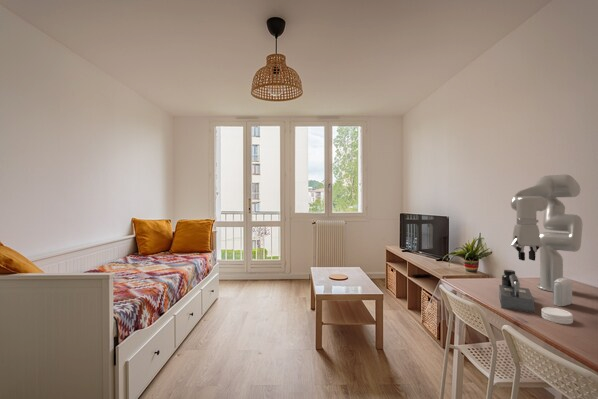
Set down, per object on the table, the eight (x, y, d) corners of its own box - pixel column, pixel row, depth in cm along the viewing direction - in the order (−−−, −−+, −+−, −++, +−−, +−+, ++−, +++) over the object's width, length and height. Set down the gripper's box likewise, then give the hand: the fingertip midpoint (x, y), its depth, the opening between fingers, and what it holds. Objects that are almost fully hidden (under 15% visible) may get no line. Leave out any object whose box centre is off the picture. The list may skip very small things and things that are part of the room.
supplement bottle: (520, 295, 149) (520, 272, 149) (505, 294, 150) (505, 272, 150) (513, 291, 156) (513, 269, 156) (499, 290, 157) (499, 268, 157)
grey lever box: (499, 296, 148) (498, 272, 148) (528, 300, 142) (528, 275, 142) (501, 307, 133) (500, 281, 133) (534, 313, 126) (533, 285, 126)
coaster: (541, 312, 127) (540, 305, 127) (571, 318, 121) (571, 310, 121) (541, 320, 119) (541, 312, 119) (574, 327, 113) (574, 318, 113)
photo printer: (562, 300, 140) (562, 276, 140) (573, 303, 136) (573, 278, 136) (551, 304, 136) (551, 278, 136) (562, 307, 132) (562, 281, 132)
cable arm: (509, 279, 146) (509, 273, 146) (517, 279, 144) (516, 274, 144) (512, 286, 134) (512, 280, 134) (520, 287, 133) (520, 281, 133)
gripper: (538, 221, 141) (538, 258, 141) (503, 221, 142) (503, 258, 142) (550, 222, 134) (551, 261, 134) (514, 223, 134) (514, 261, 135)
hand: (526, 259), depth 138 cm, fingers open, 4 cm apart
